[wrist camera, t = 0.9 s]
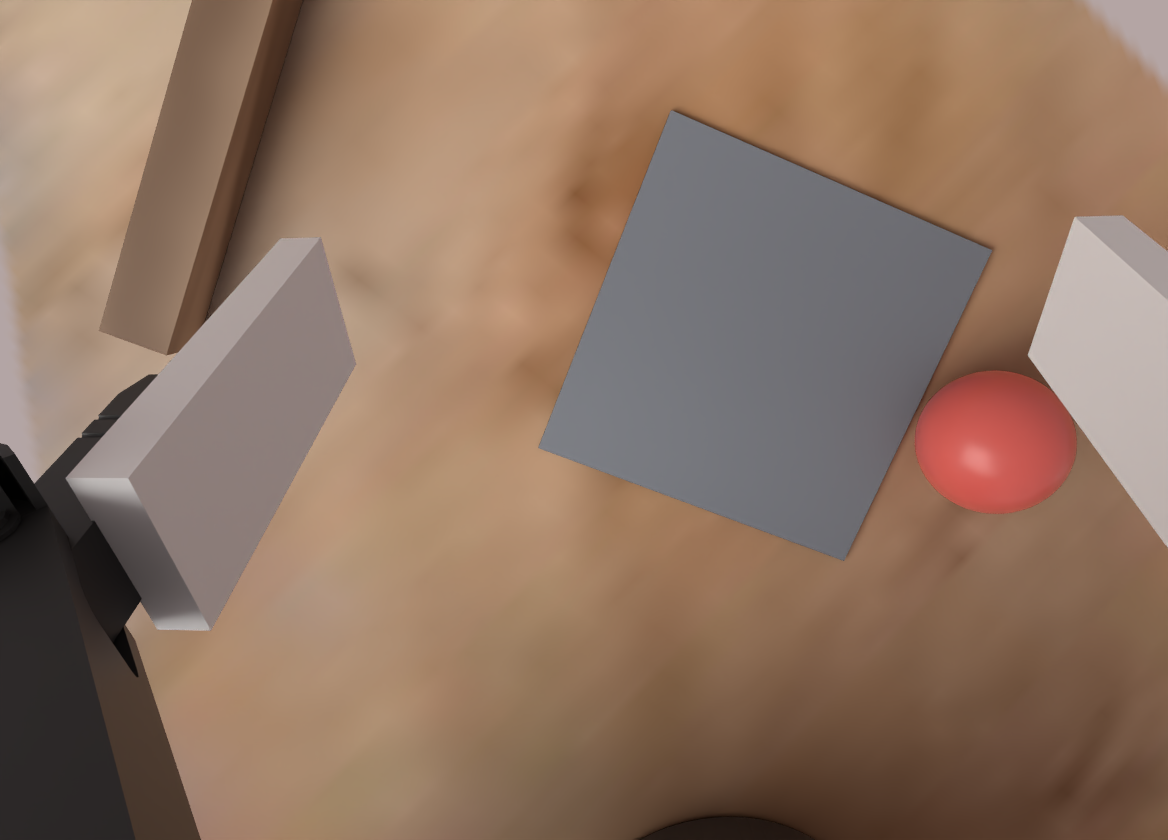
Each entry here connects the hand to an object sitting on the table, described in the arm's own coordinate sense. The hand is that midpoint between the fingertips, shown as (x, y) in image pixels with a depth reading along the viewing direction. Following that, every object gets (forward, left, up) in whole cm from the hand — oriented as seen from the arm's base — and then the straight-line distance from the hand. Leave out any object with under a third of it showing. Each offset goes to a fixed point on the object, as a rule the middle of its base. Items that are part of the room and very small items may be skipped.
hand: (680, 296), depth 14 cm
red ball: (-8, -14, -14) cm, 21 cm away
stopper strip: (+7, +13, -17) cm, 23 cm away
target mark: (-4, -6, -17) cm, 18 cm away
